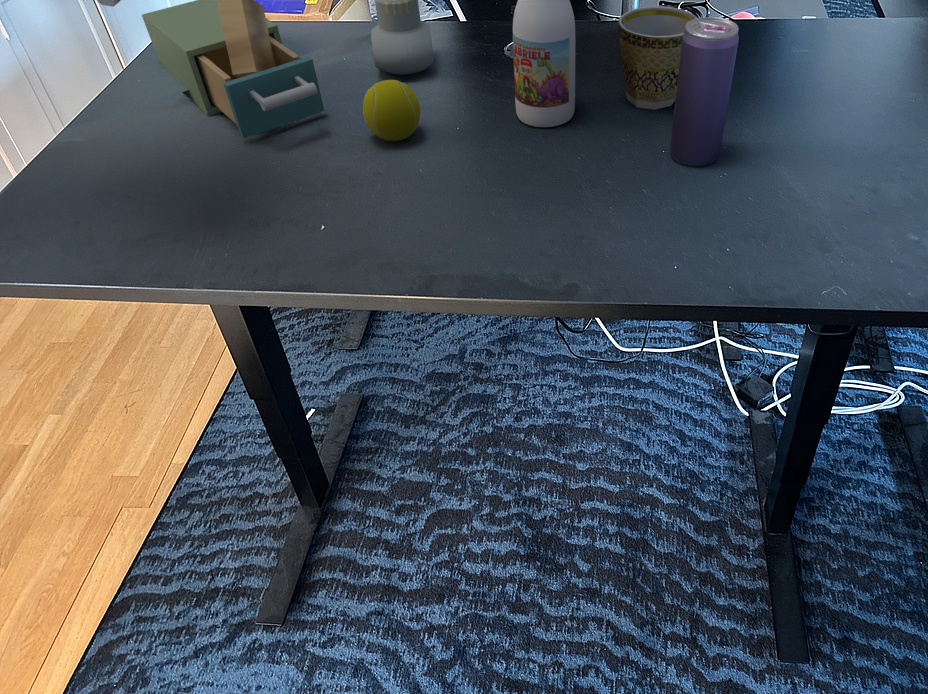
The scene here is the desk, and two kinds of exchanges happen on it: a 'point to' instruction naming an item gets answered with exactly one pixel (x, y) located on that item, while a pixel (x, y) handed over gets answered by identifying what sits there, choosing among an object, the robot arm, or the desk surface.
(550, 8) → the milk bottle
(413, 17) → the air freshener
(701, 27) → the beverage can
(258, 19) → the wooden block
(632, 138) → the desk surface
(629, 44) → the ceramic cup
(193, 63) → the cabinet
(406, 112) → the tennis ball
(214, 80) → the drawer
